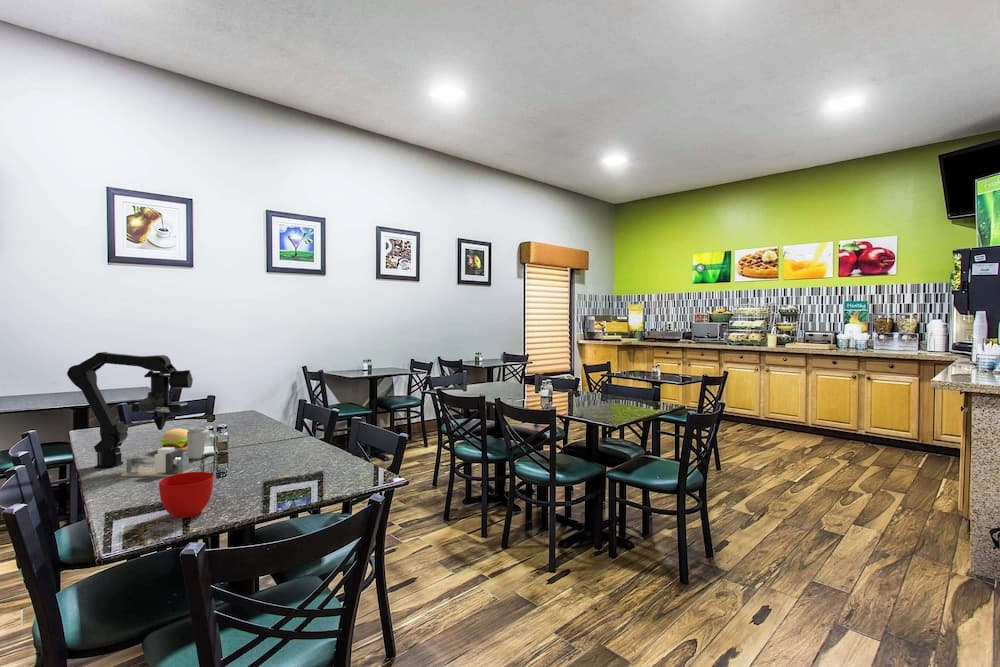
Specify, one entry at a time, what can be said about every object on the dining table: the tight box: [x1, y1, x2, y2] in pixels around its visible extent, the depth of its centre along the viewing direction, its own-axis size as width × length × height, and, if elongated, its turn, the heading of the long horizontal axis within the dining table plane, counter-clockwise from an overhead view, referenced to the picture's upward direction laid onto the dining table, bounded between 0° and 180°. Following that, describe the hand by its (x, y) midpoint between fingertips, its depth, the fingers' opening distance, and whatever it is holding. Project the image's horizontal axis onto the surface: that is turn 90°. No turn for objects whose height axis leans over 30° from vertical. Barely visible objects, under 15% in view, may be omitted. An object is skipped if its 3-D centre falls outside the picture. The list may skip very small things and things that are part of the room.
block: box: [166, 449, 184, 473], centre depth 180 cm, size 2×7×6 cm, turn 0°
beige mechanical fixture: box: [119, 455, 195, 478], centre depth 180 cm, size 20×9×5 cm, turn 90°
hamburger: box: [159, 428, 189, 452], centre depth 212 cm, size 12×12×9 cm
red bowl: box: [158, 471, 214, 519], centre depth 144 cm, size 13×17×10 cm
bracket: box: [154, 447, 175, 473], centre depth 180 cm, size 4×6×8 cm, turn 0°
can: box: [186, 425, 210, 460], centre depth 200 cm, size 8×8×12 cm
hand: (160, 429), depth 192 cm, fingers closed
